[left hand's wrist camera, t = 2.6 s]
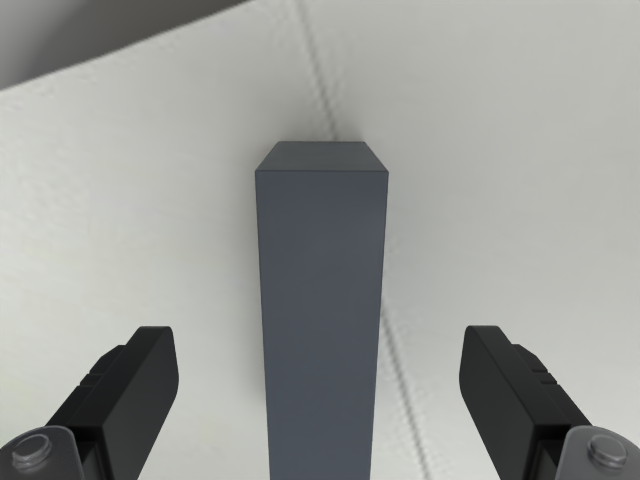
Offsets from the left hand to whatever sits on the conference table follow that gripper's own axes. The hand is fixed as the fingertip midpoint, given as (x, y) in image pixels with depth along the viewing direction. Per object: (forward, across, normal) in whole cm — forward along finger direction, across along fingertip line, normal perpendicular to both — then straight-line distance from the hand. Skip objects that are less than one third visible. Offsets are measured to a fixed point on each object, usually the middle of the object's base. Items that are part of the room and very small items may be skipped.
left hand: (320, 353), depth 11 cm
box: (+19, 0, -8) cm, 21 cm away
